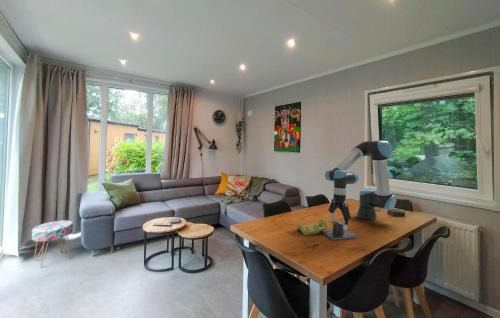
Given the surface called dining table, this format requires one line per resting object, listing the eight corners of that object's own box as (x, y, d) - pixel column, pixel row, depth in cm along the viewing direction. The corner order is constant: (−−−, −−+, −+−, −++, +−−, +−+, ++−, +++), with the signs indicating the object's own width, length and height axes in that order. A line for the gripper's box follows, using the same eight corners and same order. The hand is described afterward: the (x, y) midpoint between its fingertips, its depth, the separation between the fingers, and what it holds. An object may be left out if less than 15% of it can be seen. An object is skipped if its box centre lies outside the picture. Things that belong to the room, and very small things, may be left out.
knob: (330, 231, 152) (331, 220, 152) (339, 230, 154) (339, 220, 154) (337, 234, 146) (337, 223, 146) (345, 234, 148) (346, 223, 147)
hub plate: (343, 230, 159) (343, 221, 159) (358, 238, 145) (358, 229, 144) (320, 232, 155) (320, 223, 154) (333, 241, 140) (333, 231, 140)
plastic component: (305, 233, 147) (297, 222, 155) (303, 241, 150) (295, 229, 159) (330, 227, 154) (321, 217, 162) (327, 235, 157) (319, 224, 165)
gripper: (323, 190, 160) (322, 220, 161) (347, 198, 136) (346, 233, 137) (333, 190, 162) (332, 219, 163) (358, 197, 138) (356, 232, 139)
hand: (338, 225), depth 150 cm, fingers open, 13 cm apart
